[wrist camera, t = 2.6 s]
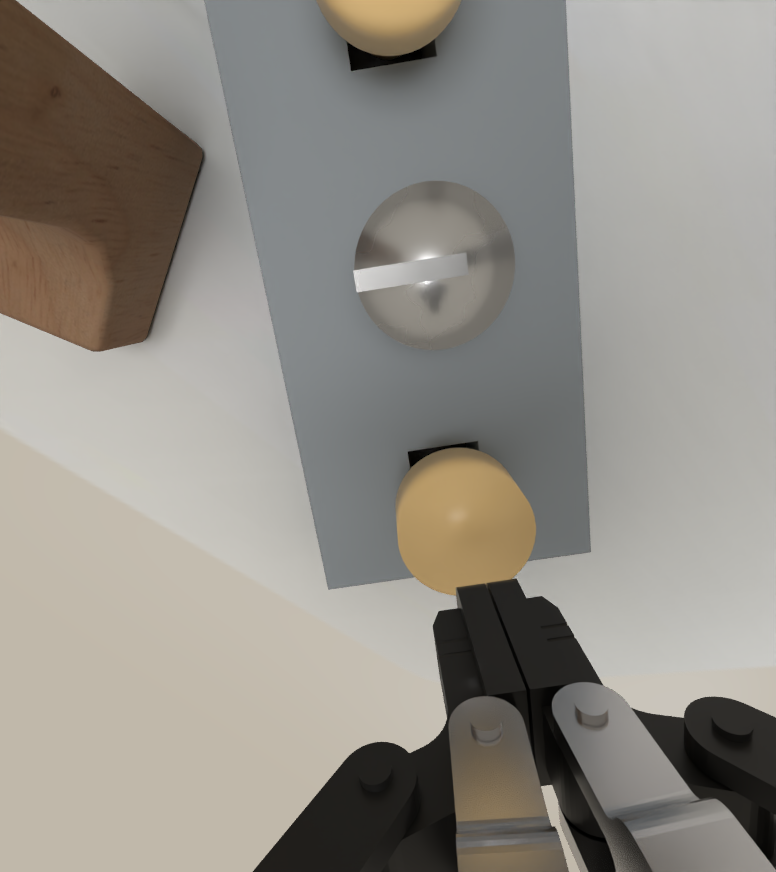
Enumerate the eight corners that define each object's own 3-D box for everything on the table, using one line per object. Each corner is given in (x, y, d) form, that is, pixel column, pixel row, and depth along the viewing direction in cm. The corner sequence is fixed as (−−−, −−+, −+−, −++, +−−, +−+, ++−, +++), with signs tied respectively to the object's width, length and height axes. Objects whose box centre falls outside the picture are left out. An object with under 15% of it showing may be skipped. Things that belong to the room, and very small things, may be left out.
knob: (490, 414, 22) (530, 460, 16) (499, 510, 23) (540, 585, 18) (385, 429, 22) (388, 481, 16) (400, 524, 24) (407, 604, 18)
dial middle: (469, 204, 20) (510, 165, 14) (481, 323, 21) (523, 338, 15) (352, 222, 20) (340, 193, 14) (371, 340, 21) (367, 362, 15)
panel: (522, -98, 20) (556, -192, 16) (560, 514, 27) (590, 552, 23) (216, -44, 20) (178, -123, 16) (335, 546, 27) (328, 589, 23)
